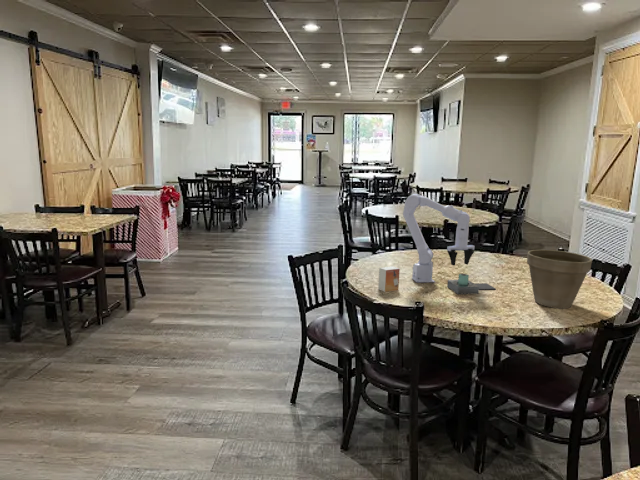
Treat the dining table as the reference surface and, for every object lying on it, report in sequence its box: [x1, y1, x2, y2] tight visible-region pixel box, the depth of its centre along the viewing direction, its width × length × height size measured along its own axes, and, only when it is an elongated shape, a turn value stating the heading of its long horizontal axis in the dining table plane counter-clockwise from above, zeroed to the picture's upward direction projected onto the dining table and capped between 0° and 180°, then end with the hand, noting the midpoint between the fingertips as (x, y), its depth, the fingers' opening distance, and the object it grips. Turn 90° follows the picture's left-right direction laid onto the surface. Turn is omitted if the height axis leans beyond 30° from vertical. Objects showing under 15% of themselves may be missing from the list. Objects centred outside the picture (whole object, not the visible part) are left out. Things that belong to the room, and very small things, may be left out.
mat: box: [475, 282, 496, 291], centre depth 232 cm, size 9×9×1 cm
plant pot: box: [526, 249, 593, 309], centre depth 208 cm, size 25×25×22 cm
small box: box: [377, 265, 401, 293], centre depth 224 cm, size 8×6×10 cm
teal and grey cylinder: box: [457, 273, 470, 285], centre depth 226 cm, size 4×4×8 cm
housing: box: [446, 279, 480, 295], centre depth 226 cm, size 10×12×4 cm
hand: (459, 264), depth 235 cm, fingers open, 7 cm apart
